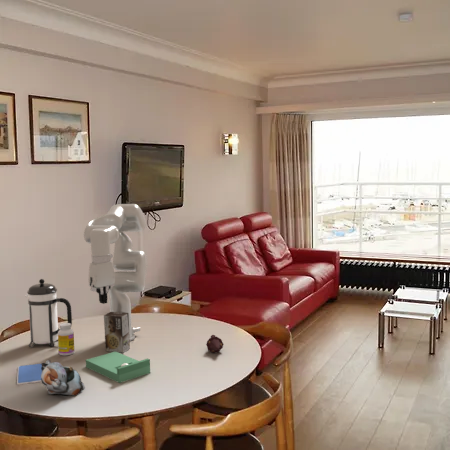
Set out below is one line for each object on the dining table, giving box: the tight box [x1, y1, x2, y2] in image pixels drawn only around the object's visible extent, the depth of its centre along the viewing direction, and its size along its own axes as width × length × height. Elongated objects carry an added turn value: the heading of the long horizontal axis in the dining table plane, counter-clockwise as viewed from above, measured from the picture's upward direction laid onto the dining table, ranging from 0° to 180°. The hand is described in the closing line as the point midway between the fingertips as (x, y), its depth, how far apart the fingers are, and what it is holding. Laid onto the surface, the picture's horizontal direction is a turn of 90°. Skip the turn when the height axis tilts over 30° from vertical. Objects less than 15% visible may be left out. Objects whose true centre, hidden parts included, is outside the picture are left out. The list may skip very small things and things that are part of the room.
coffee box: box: [103, 311, 131, 353], centre depth 245 cm, size 9×6×16 cm
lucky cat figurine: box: [40, 359, 86, 396], centre depth 199 cm, size 15×12×14 cm
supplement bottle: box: [57, 322, 75, 356], centre depth 241 cm, size 7×7×13 cm
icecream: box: [205, 334, 224, 354], centre depth 241 cm, size 7×7×15 cm
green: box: [85, 351, 151, 384], centre depth 221 cm, size 14×24×5 cm, turn 44°
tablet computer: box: [16, 363, 42, 386], centre depth 218 cm, size 19×13×1 cm, turn 19°
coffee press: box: [25, 278, 73, 349], centre depth 255 cm, size 17×16×30 cm
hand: (103, 302), depth 230 cm, fingers closed
